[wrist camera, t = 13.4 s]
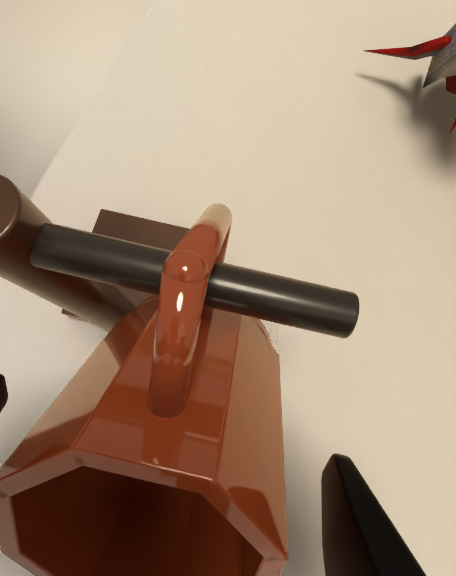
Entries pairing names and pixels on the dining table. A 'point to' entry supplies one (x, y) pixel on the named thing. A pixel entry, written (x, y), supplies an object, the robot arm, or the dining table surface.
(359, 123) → the dining table surface
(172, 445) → the mug
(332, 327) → the mug rack
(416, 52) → the toy spacecraft
